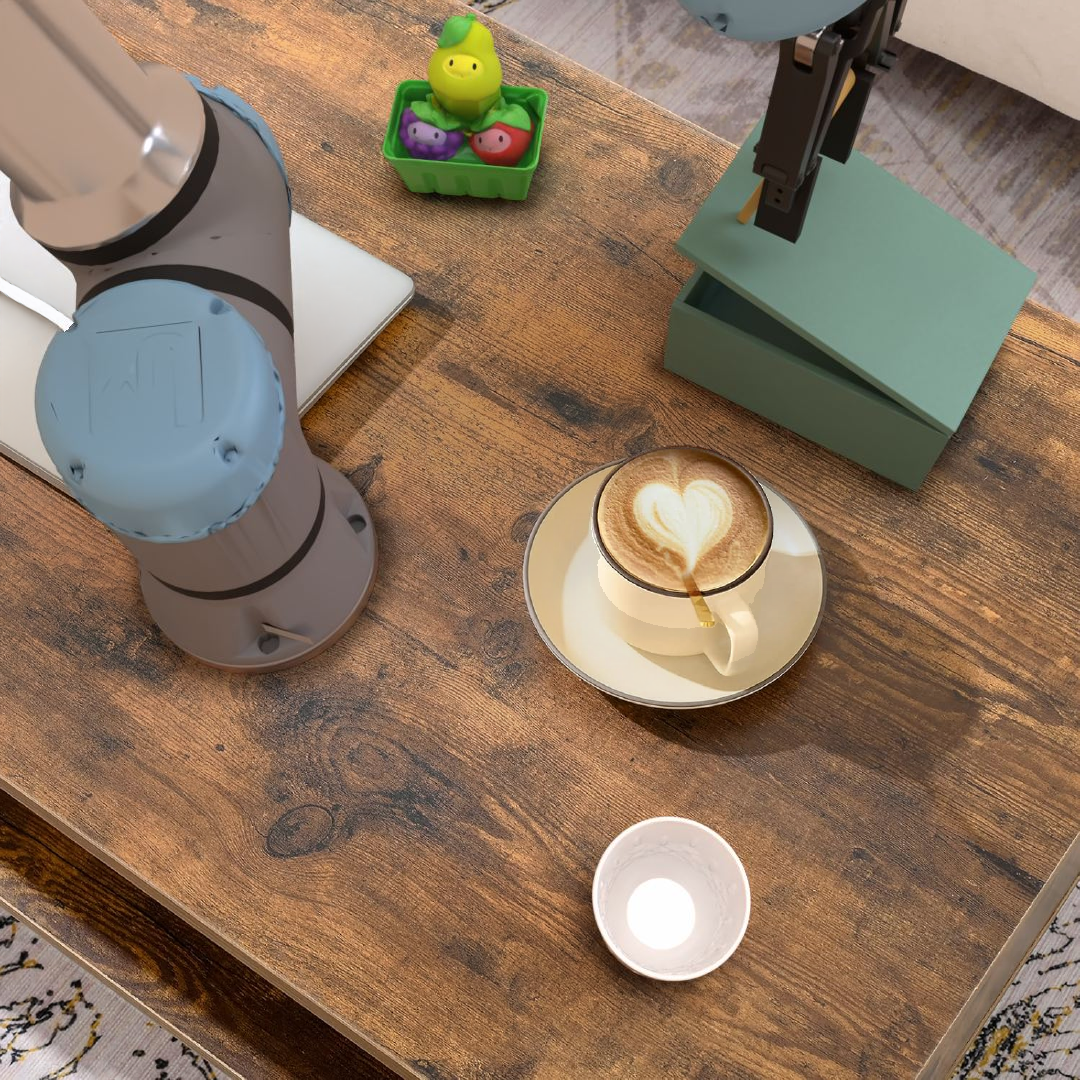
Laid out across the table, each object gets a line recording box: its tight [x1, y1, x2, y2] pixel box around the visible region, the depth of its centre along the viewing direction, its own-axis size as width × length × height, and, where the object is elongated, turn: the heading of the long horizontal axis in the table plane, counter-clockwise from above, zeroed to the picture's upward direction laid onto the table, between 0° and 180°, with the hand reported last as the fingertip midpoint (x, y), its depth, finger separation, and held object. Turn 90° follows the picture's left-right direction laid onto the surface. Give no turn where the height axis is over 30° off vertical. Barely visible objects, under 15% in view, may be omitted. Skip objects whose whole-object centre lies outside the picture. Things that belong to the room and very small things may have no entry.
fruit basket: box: [381, 12, 549, 201], centre depth 84 cm, size 11×9×11 cm
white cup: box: [591, 816, 752, 982], centre depth 62 cm, size 8×8×10 cm
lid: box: [672, 68, 1039, 436], centre depth 67 cm, size 20×13×10 cm, turn 59°
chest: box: [663, 265, 952, 493], centre depth 78 cm, size 19×13×8 cm
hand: (802, 189), depth 69 cm, fingers closed on lid, 6 cm apart
